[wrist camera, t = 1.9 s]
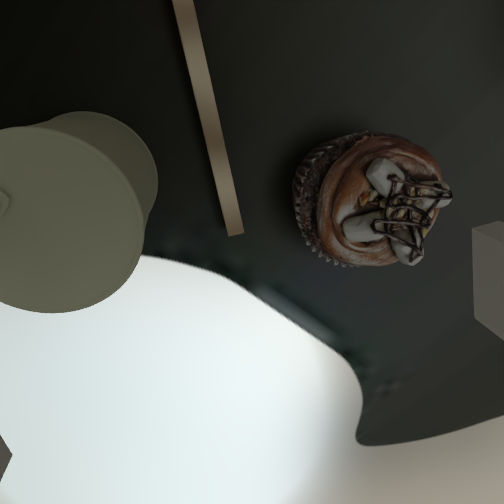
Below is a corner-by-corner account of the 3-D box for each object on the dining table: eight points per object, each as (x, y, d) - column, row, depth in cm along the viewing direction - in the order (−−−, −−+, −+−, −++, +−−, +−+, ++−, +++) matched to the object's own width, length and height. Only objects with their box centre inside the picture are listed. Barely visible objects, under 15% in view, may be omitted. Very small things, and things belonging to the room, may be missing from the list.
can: (57, 82, 28) (-26, 80, 17) (181, 157, 31) (180, 197, 20) (1, 200, 30) (-106, 267, 19) (121, 259, 33) (90, 347, 22)
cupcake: (292, 116, 31) (338, 128, 22) (411, 134, 33) (501, 153, 23) (270, 239, 34) (303, 295, 25) (380, 249, 36) (449, 305, 27)
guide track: (-279, -259, 20) (-415, -360, 16) (119, -319, 22) (102, -429, 17) (-8, 284, 32) (-40, 318, 27) (240, 224, 33) (250, 246, 28)
